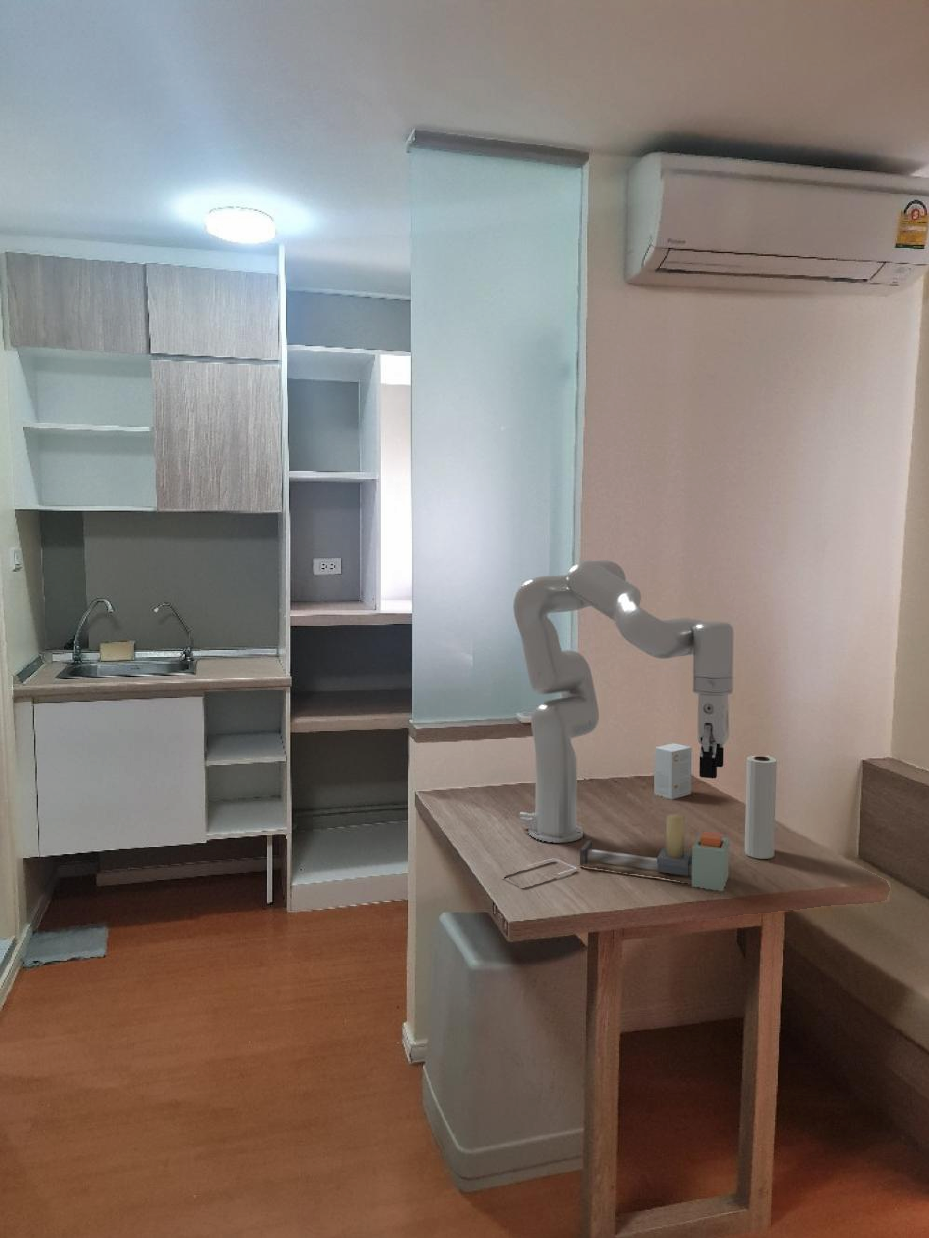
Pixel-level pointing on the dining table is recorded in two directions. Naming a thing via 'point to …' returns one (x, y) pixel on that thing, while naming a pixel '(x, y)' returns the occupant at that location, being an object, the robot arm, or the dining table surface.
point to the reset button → (711, 839)
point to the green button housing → (710, 865)
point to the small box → (672, 770)
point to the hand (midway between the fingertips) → (711, 771)
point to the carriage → (674, 848)
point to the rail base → (626, 863)
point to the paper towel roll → (760, 806)
